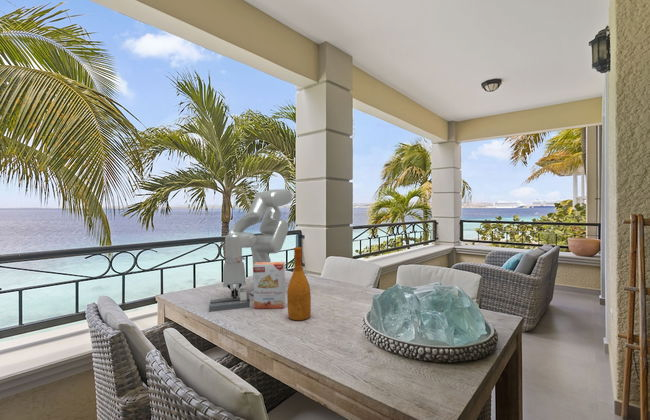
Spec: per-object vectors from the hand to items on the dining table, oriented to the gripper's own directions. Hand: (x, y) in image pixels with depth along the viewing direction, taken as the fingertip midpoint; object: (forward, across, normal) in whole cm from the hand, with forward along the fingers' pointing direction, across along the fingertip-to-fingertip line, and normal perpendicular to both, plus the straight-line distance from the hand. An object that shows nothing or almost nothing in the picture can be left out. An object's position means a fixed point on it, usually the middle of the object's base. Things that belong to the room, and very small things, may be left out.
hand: (234, 297), depth 150 cm
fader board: (+4, +2, 0) cm, 4 cm away
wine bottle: (+4, -26, +26) cm, 37 cm away
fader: (+2, -4, 0) cm, 4 cm away
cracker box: (+4, -16, +8) cm, 18 cm away
